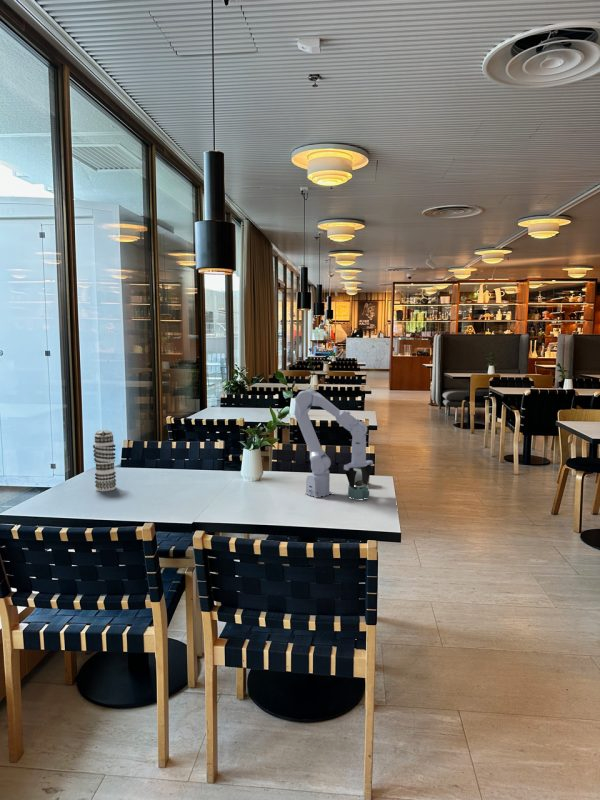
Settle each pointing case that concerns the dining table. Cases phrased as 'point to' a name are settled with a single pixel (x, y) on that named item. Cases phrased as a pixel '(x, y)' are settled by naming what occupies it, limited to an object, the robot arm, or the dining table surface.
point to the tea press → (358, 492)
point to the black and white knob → (358, 484)
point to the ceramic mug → (360, 476)
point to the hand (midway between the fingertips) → (358, 485)
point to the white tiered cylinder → (104, 461)
